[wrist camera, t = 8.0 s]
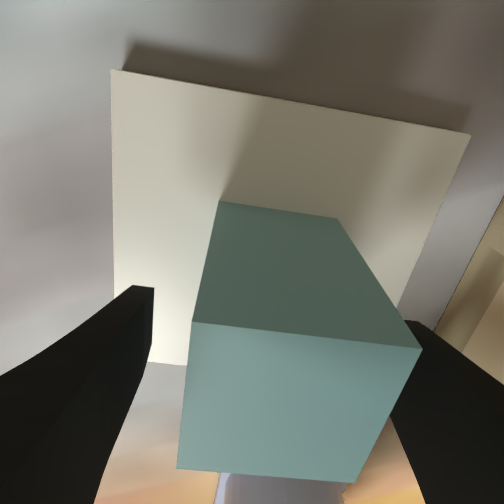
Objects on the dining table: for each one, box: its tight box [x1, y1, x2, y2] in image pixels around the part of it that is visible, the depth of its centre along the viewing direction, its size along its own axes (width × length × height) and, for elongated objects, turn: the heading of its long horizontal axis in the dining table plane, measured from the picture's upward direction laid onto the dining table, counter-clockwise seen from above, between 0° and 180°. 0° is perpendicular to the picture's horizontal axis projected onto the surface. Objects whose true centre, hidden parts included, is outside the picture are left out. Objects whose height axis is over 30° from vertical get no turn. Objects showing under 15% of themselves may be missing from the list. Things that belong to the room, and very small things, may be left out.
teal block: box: [176, 201, 423, 483], centre depth 11 cm, size 4×4×7 cm
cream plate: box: [111, 69, 472, 366], centre depth 14 cm, size 12×12×1 cm
